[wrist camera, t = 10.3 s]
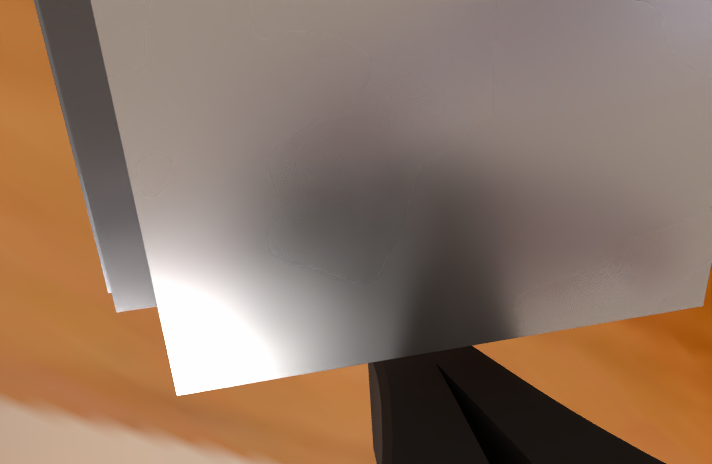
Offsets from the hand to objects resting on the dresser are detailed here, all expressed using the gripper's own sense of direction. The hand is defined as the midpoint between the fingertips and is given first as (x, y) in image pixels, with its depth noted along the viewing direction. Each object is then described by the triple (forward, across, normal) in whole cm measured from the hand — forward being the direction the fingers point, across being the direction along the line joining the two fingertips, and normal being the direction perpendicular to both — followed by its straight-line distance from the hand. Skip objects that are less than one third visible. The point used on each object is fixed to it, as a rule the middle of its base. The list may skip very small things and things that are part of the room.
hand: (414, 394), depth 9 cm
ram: (+2, 0, -5) cm, 5 cm away
